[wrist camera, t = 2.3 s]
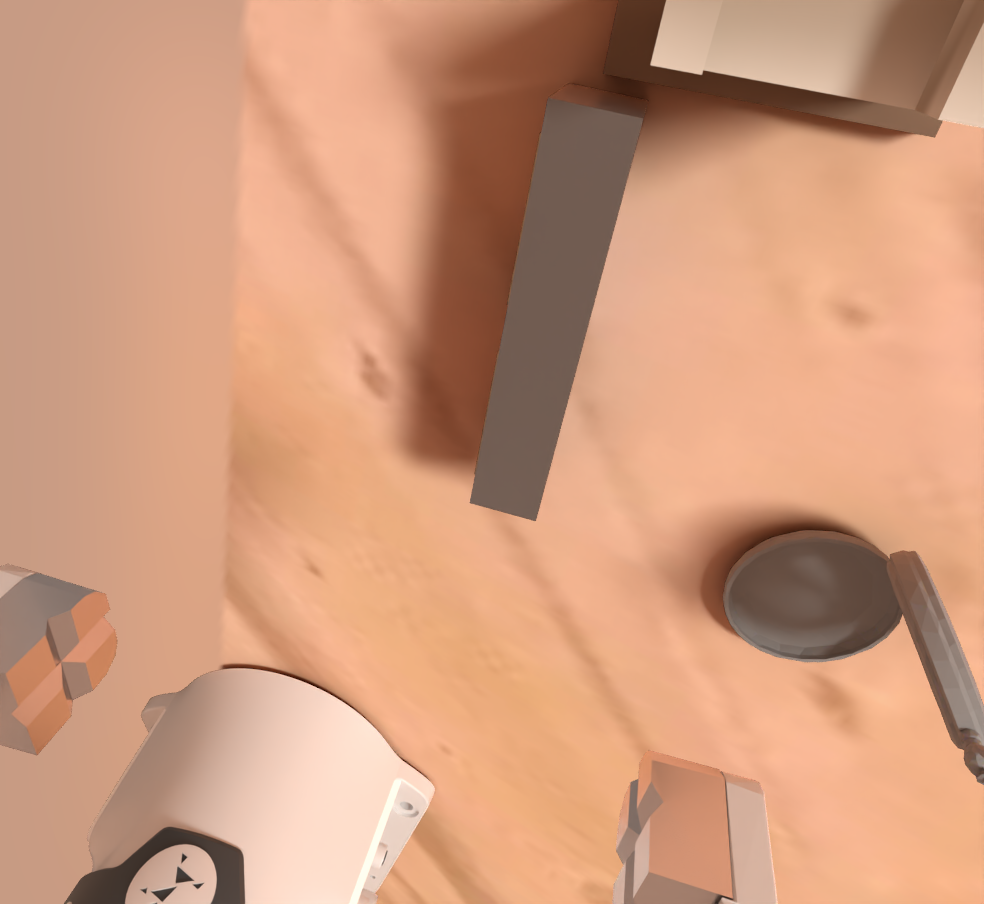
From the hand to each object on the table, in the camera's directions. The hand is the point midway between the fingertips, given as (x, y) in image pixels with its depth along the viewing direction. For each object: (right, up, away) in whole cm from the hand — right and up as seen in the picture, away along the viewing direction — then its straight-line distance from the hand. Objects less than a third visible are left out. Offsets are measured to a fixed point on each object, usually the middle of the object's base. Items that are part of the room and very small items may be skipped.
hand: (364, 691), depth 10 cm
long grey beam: (+4, +9, +14) cm, 17 cm away
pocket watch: (+16, -2, +18) cm, 24 cm away
